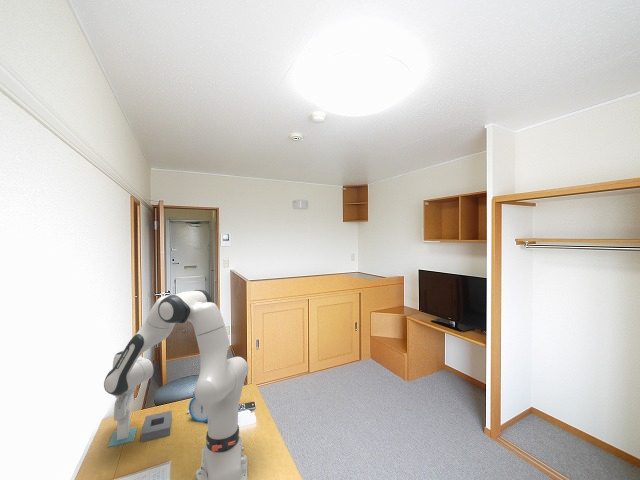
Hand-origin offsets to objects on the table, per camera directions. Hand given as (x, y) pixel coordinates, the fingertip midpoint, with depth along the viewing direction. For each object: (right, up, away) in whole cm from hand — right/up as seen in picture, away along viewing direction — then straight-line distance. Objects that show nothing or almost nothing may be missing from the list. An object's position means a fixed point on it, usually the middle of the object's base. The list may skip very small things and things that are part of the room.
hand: (123, 418), depth 123 cm
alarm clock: (+30, -9, +14) cm, 34 cm away
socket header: (+12, -9, +5) cm, 16 cm away
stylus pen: (+21, -10, +24) cm, 33 cm away
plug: (0, -8, 0) cm, 8 cm away
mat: (0, -9, 0) cm, 9 cm away
